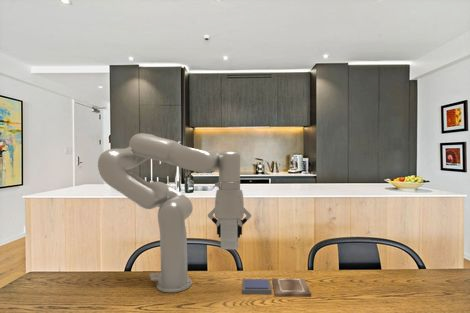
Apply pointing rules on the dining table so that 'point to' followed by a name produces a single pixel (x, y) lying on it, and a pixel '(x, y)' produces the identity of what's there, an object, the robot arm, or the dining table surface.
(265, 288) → the ink pad
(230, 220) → the skincare box
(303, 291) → the marked board
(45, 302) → the dining table surface
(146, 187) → the robot arm
